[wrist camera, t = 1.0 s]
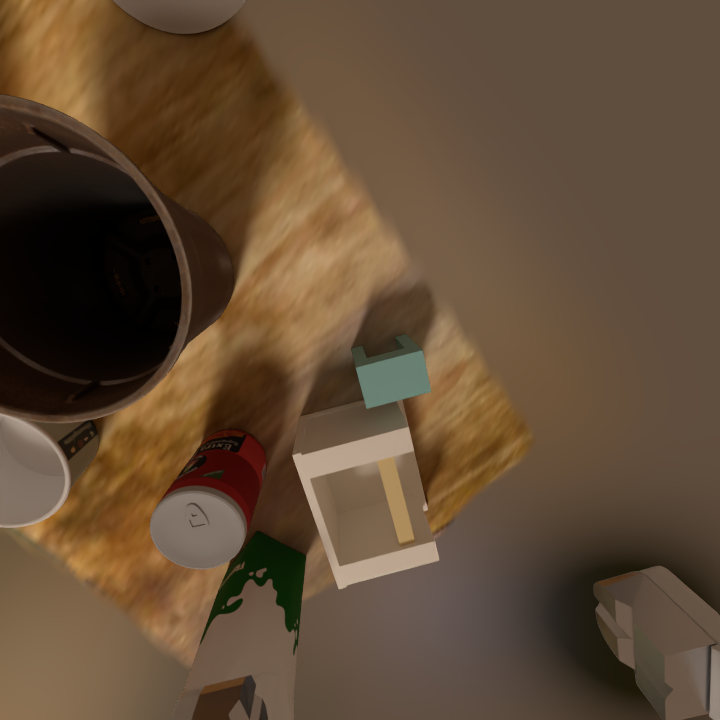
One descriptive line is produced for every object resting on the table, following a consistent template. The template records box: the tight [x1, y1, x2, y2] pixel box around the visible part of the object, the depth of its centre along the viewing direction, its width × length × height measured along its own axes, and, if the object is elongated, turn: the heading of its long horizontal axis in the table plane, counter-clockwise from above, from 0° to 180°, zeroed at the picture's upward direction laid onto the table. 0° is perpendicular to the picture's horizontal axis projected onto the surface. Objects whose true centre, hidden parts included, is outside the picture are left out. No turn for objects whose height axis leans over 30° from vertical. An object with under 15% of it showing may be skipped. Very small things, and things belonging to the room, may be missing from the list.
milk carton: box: [183, 531, 306, 720], centre depth 34 cm, size 9×9×20 cm
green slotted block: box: [351, 334, 431, 409], centre depth 34 cm, size 4×6×7 cm, turn 104°
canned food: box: [150, 430, 267, 569], centre depth 34 cm, size 8×8×11 cm
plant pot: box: [0, 94, 234, 423], centre depth 25 cm, size 16×16×16 cm
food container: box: [0, 414, 99, 527], centre depth 33 cm, size 12×12×6 cm
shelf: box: [292, 400, 439, 589], centre depth 37 cm, size 16×11×8 cm
